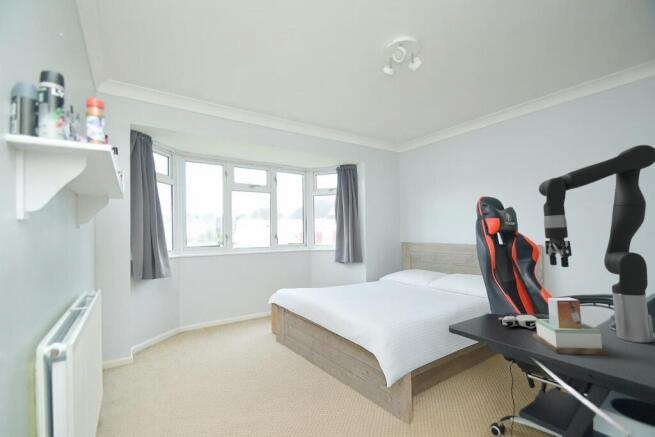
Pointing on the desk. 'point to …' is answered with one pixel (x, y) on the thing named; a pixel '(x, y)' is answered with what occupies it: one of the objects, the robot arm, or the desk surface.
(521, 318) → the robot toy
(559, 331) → the base brick
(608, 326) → the desk surface
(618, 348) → the desk surface
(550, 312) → the small box
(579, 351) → the build plate
